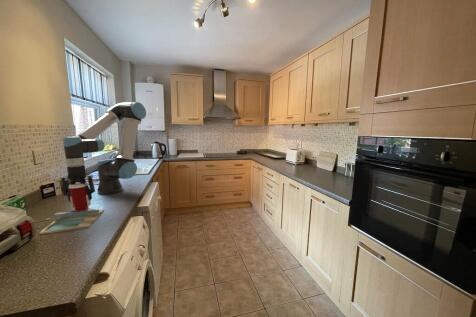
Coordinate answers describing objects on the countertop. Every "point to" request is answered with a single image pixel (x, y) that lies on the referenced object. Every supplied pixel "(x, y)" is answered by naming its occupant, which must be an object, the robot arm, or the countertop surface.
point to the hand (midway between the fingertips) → (81, 206)
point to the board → (70, 224)
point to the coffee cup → (78, 196)
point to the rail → (76, 214)
